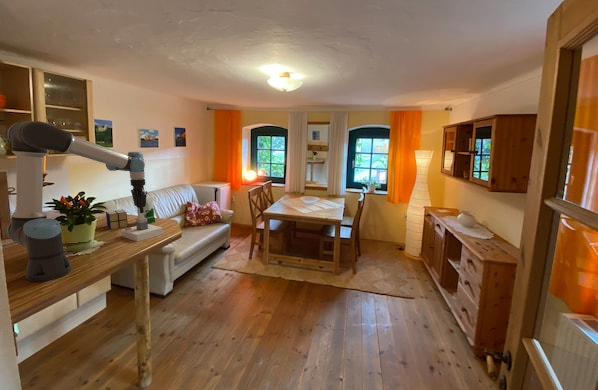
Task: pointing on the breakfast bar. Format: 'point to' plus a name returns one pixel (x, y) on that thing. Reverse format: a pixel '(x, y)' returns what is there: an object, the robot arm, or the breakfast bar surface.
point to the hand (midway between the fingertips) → (141, 218)
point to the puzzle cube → (116, 219)
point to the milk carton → (149, 210)
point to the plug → (141, 224)
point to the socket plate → (141, 233)
